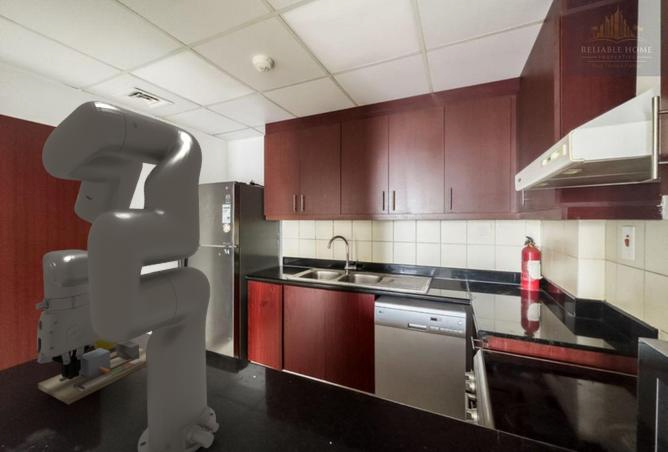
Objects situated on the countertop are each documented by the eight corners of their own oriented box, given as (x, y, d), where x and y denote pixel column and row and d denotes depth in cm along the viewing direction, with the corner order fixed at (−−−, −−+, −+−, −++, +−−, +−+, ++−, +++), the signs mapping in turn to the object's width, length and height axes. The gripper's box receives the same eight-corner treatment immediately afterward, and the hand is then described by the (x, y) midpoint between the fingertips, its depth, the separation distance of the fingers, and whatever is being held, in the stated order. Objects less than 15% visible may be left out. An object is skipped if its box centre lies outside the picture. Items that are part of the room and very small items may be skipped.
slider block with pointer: (119, 371, 67) (118, 354, 66) (98, 381, 62) (97, 363, 62) (100, 364, 70) (100, 347, 70) (79, 373, 66) (78, 356, 66)
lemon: (122, 348, 82) (121, 323, 81) (105, 357, 76) (104, 330, 76) (106, 347, 82) (105, 322, 82) (88, 356, 77) (87, 330, 76)
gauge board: (160, 358, 75) (159, 340, 75) (68, 404, 57) (67, 381, 57) (130, 349, 81) (129, 332, 81) (38, 388, 62) (37, 367, 62)
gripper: (30, 315, 54) (34, 401, 54) (114, 294, 67) (116, 363, 68) (13, 310, 57) (17, 392, 57) (97, 291, 70) (100, 357, 71)
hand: (71, 376), depth 63 cm, fingers closed
